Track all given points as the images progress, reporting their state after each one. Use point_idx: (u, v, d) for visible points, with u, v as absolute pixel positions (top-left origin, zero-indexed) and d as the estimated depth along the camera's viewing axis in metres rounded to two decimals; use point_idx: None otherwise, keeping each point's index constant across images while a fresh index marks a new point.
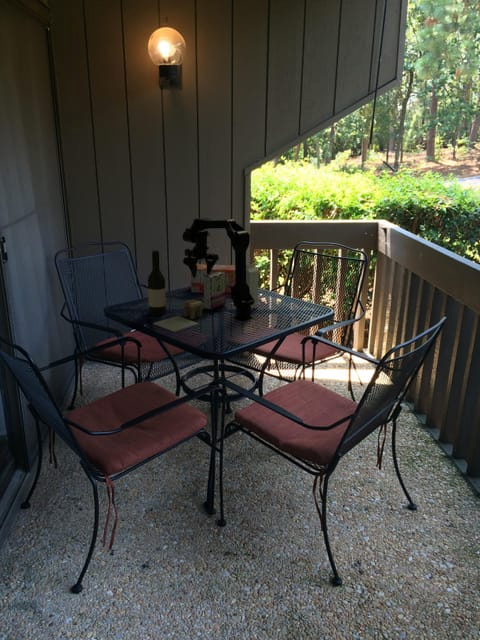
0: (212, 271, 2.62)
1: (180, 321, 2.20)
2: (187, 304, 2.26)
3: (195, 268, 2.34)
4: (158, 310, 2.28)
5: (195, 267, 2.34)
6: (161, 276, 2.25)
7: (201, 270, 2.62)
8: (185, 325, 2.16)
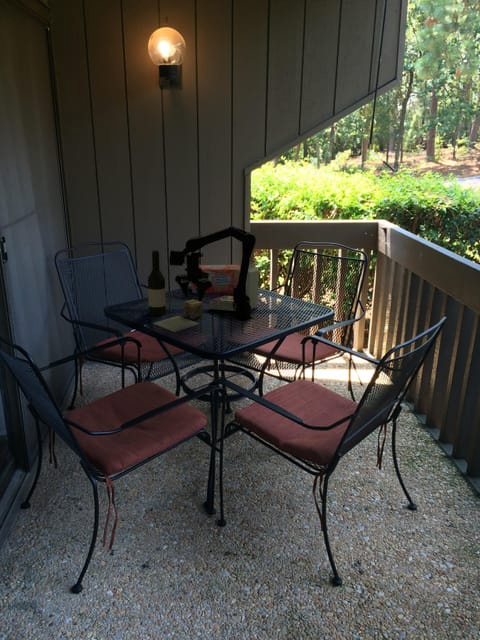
0: (214, 271, 2.62)
1: (180, 321, 2.20)
2: (187, 304, 2.26)
3: (180, 286, 2.27)
4: (158, 310, 2.28)
5: (179, 285, 2.27)
6: (161, 276, 2.25)
7: (203, 271, 2.61)
8: (185, 325, 2.16)
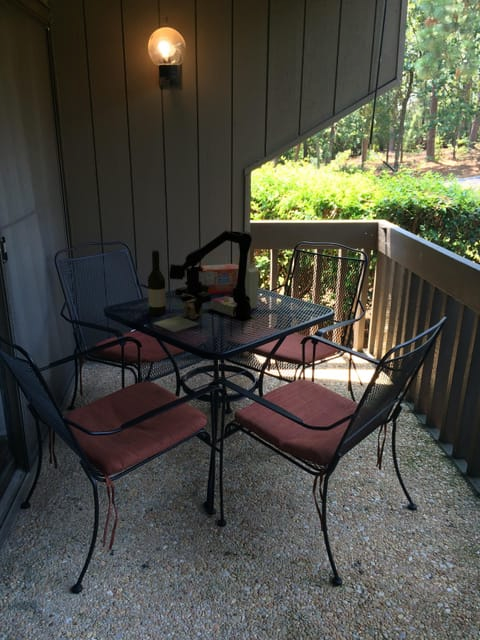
0: (216, 271, 2.62)
1: (180, 321, 2.20)
2: (187, 304, 2.26)
3: (182, 300, 2.28)
4: (158, 310, 2.28)
5: (182, 299, 2.28)
6: (161, 276, 2.25)
7: (206, 271, 2.60)
8: (185, 325, 2.16)
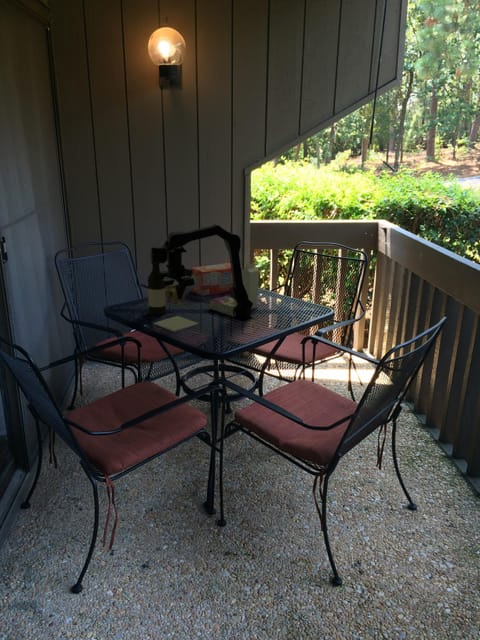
0: (220, 271, 2.62)
1: (180, 321, 2.20)
2: (169, 288, 2.12)
3: (164, 285, 2.14)
4: (158, 310, 2.28)
5: (163, 283, 2.14)
6: None
7: (211, 272, 2.59)
8: (185, 325, 2.16)
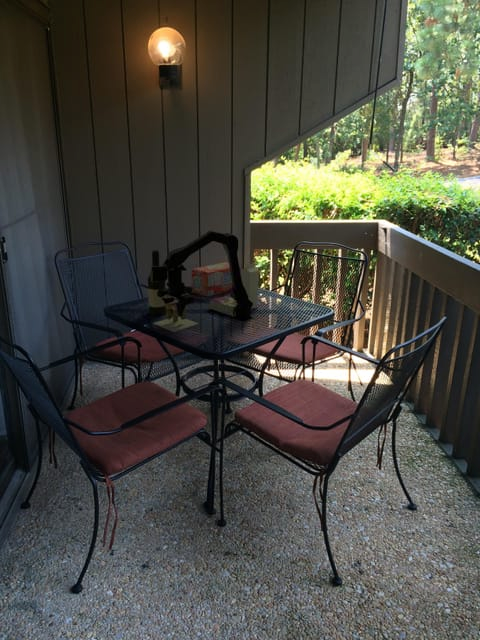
0: (222, 271, 2.63)
1: (180, 321, 2.20)
2: (169, 306, 2.14)
3: (164, 302, 2.16)
4: (158, 310, 2.28)
5: (164, 301, 2.16)
6: None
7: (214, 272, 2.58)
8: (185, 325, 2.16)
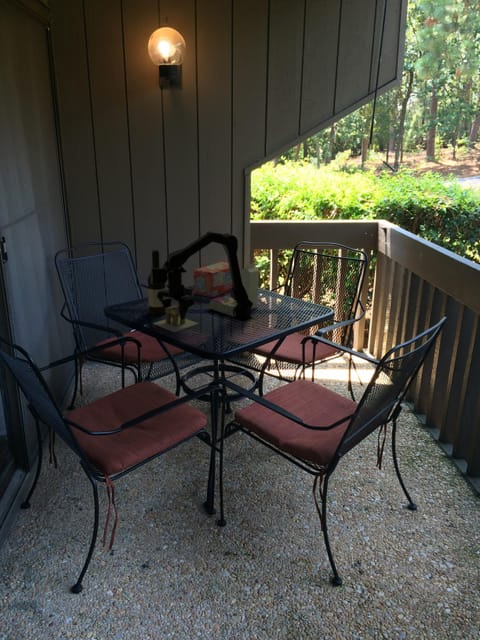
0: (224, 271, 2.63)
1: None
2: (169, 311, 2.14)
3: (162, 303, 2.18)
4: (158, 310, 2.28)
5: (161, 302, 2.17)
6: None
7: (218, 272, 2.58)
8: (185, 325, 2.16)
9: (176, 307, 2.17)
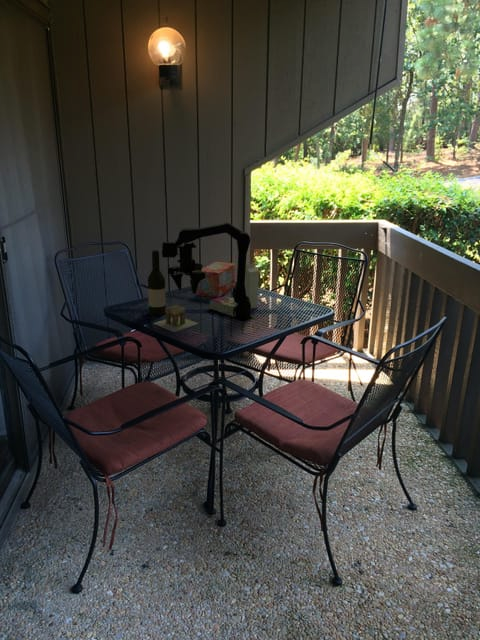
0: (226, 270, 2.64)
1: None
2: (169, 311, 2.14)
3: (173, 278, 2.23)
4: (158, 310, 2.28)
5: (172, 277, 2.23)
6: (161, 276, 2.25)
7: (222, 272, 2.59)
8: (185, 325, 2.16)
9: (176, 307, 2.17)
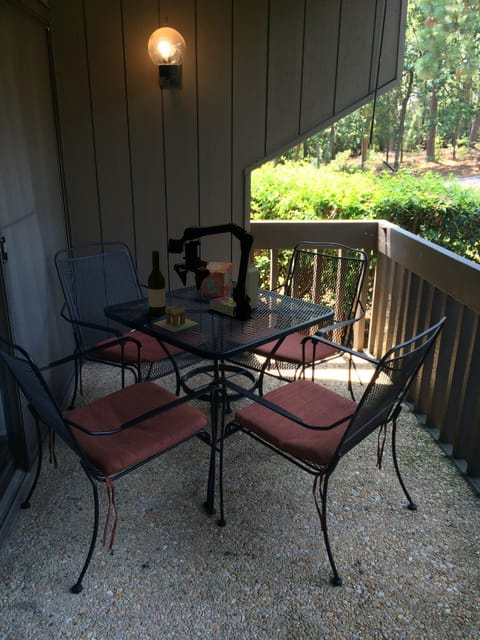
0: (227, 270, 2.65)
1: None
2: (169, 311, 2.14)
3: (178, 275, 2.28)
4: (158, 310, 2.28)
5: (178, 274, 2.27)
6: (161, 276, 2.25)
7: (225, 272, 2.60)
8: (185, 325, 2.16)
9: (176, 307, 2.17)
